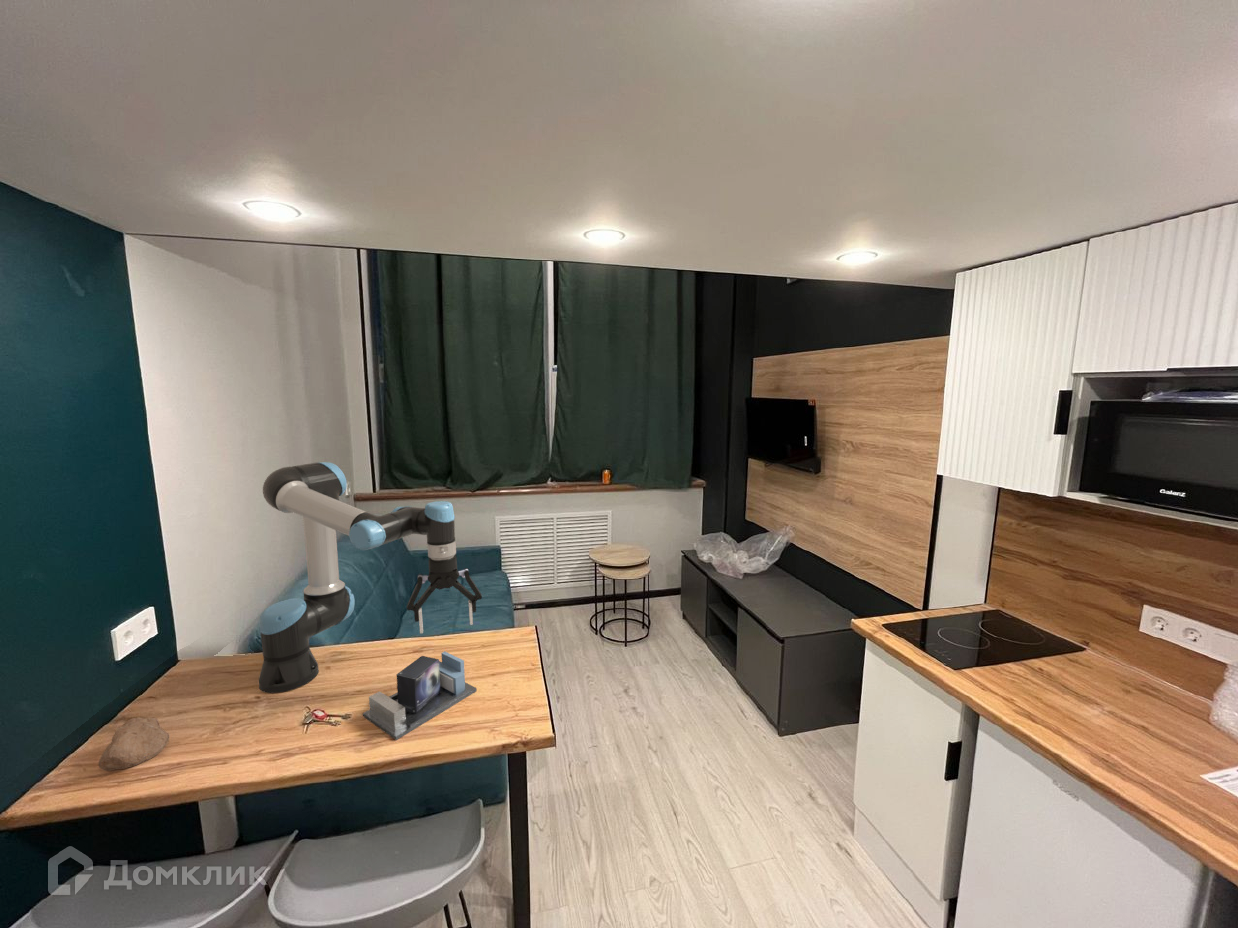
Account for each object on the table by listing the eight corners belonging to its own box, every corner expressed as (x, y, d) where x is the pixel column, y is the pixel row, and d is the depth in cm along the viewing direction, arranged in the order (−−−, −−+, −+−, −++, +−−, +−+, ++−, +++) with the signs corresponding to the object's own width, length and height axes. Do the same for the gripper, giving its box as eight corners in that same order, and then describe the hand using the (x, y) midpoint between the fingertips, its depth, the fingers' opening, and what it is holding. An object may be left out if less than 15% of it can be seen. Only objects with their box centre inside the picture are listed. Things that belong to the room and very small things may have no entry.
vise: (362, 716, 132) (361, 695, 131) (442, 673, 152) (441, 655, 151) (396, 740, 123) (394, 718, 122) (476, 691, 143) (475, 672, 142)
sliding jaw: (429, 681, 146) (428, 656, 145) (443, 674, 150) (441, 649, 149) (454, 695, 139) (453, 669, 138) (468, 687, 143) (467, 662, 142)
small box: (417, 714, 131) (414, 678, 129) (397, 710, 133) (394, 674, 131) (442, 692, 141) (440, 658, 139) (423, 688, 143) (421, 654, 141)
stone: (151, 743, 125) (118, 719, 121) (184, 723, 125) (152, 698, 122) (117, 787, 113) (79, 762, 110) (153, 764, 114) (117, 738, 110)
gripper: (393, 566, 131) (399, 641, 134) (489, 554, 140) (492, 624, 143) (394, 557, 138) (400, 629, 141) (486, 547, 147) (489, 614, 150)
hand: (446, 627), depth 142 cm, fingers open, 13 cm apart
